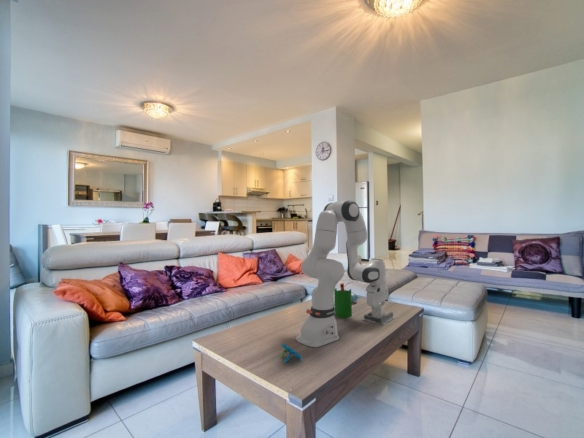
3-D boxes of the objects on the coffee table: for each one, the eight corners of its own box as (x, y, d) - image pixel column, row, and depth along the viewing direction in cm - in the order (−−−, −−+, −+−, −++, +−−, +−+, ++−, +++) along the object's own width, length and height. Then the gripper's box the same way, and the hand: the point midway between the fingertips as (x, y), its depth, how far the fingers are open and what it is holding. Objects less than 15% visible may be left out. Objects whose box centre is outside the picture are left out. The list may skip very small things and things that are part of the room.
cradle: (383, 325, 150) (383, 320, 150) (362, 319, 159) (362, 314, 159) (395, 318, 161) (395, 313, 161) (374, 313, 170) (374, 308, 170)
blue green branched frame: (307, 359, 113) (290, 345, 110) (299, 372, 110) (282, 359, 108) (294, 352, 123) (278, 339, 120) (286, 364, 120) (270, 351, 117)
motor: (351, 313, 172) (350, 280, 172) (352, 318, 163) (351, 284, 163) (334, 312, 173) (333, 281, 173) (335, 317, 164) (334, 284, 164)
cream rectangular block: (381, 319, 156) (381, 307, 156) (371, 317, 161) (370, 305, 161) (385, 317, 160) (385, 305, 160) (375, 314, 164) (374, 303, 164)
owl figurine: (350, 284, 211) (367, 288, 200) (350, 296, 211) (367, 300, 200) (325, 291, 192) (343, 296, 181) (325, 304, 192) (343, 309, 181)
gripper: (381, 282, 170) (381, 304, 170) (364, 288, 155) (364, 313, 155) (391, 283, 165) (391, 306, 165) (374, 290, 151) (375, 315, 151)
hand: (378, 310), depth 160 cm, fingers open, 8 cm apart
